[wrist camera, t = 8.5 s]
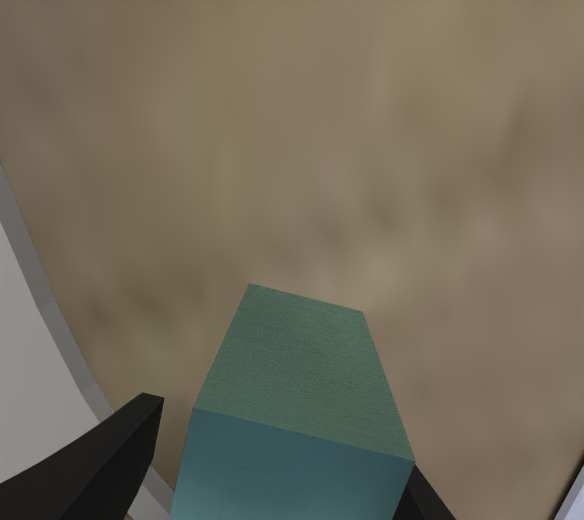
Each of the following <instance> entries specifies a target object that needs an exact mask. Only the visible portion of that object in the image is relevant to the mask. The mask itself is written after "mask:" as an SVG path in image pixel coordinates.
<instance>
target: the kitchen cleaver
mask: <svg viewBox="0 0 584 520" xmlns="http://www.w3.org/2000/svg"><path fill="white" fill-rule="evenodd" d="M114 413H115V412H114V411H113V409H112V408H111V406H110V404H109V403H108V401H107V400H106V398H105V396H104V395H103V393H102V392H101V390H100V389H99V387H98V385H97V384H96V382H95V381H94V378H93V376H92V374H91V372H90V370H89V368H88V366H87V364H86V362H85V360H84V358H83V356H82V354H81V352H80V350H79V348H78V346H77V344H76V342H75V340H74V338H73V336H72V334H71V331H70V329H69V327H68V325H67V323H66V321H65V319H64V317H63V315H62V313H61V311H60V309H59V307H58V305H57V303H56V301H55V299H54V296H53V294H52V291H51V289H50V286H49V284H48V281H47V279H46V276H45V274H44V271H43V269H42V266H41V264H40V261H39V259H38V256H37V254H36V251H35V249H34V246H33V244H32V242H31V239H30V237H29V234H28V232H27V229H26V227H25V224H24V222H23V219H22V217H21V214H20V212H19V209H18V207H17V204H16V202H15V199H14V197H13V194H12V192H11V189H10V187H9V184H8V182H7V179H6V177H5V174H4V172H3V170H2V167H1V165H0V483H2V482H4V481H6V480H7V479H9V478H11V477H13V476H15V475H17V474H19V473H21V472H22V471H24V470H26V469H28V468H30V467H31V466H33V465H35V464H37V463H38V462H40V461H42V460H44V459H45V458H47V457H48V456H50V455H52V454H53V453H55V452H57V451H58V450H60V449H61V448H63V447H65V446H66V445H68V444H70V443H71V442H73V441H74V440H76V439H77V438H79V437H80V436H82V435H83V434H85V433H86V432H88V431H89V430H91V429H92V428H94V427H95V426H97V425H98V424H99V423H101V422H102V421H104V420H105V419H107V418H108V417H109V416H111V415H112V414H114ZM173 497H174V491H173V490H172V489H171V488H170V487H169V486H168V485H167V484H166V482H165V481H164V480H163V479H162V478H161V477H160V476H159V475H158V473H157V472H156V471H155V470H154V469H153V468H152V467H151V465H150V466H149V469H148V471H147V473H146V475H145V478H144V480H143V482H142V485H141V487H140V489H139V491H138V493H137V496H136V498H135V499H134V501H133V503H132V505H131V507H130V508H129V510H128V512H127V513H128V514H129V515H130V516H131V517H132V518H133V520H169V516H170V511H171V506H172V502H173Z"/></svg>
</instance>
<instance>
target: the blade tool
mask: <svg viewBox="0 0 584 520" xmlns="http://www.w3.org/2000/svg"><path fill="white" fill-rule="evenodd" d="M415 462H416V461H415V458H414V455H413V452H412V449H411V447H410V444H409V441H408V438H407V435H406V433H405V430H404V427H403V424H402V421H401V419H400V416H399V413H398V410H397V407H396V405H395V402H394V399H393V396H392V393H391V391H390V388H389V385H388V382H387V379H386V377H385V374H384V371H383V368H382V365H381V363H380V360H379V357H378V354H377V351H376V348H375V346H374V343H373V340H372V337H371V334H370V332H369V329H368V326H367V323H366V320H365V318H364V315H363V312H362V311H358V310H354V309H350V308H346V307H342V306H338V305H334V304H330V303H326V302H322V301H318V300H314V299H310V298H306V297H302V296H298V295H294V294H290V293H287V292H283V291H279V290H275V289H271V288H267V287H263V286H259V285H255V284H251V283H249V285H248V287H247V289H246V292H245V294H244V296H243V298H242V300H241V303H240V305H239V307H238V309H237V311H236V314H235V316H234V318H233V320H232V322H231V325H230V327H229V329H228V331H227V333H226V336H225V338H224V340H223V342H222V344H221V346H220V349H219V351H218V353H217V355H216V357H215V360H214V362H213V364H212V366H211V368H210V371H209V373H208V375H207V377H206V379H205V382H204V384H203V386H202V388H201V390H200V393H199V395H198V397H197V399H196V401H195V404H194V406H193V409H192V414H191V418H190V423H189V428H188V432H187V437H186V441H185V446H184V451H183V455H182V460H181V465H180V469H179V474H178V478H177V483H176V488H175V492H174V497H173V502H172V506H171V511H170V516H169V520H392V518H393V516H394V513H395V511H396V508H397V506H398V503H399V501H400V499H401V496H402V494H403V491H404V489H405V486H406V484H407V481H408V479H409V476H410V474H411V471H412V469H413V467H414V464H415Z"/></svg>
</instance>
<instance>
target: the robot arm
mask: <svg viewBox="0 0 584 520" xmlns="http://www.w3.org/2000/svg"><path fill="white" fill-rule="evenodd" d="M163 403H164V398H163V397H159V396H155V395H151V394H147V393H141V394H139V395H138V396H136V397H135V398H134V399H132V400H131V401H130V402H128V403H127V404H126V405H124V406H123V407H122V408H120V409H119V410H118V411H116V412H115V413H114V414H112V415H111V416H109V417H108V418H107V419H105V420H104V421H102V422H101V423H99V424H98V425H97V426H95V427H94V428H92V429H91V430H89V431H88V432H86V433H85V434H83V435H82V436H80V437H79V438H77V439H76V440H74V441H73V442H71V443H70V444H68V445H66V446H65V447H63V448H61V449H60V450H58V451H57V452H55V453H53V454H52V455H50V456H48V457H47V458H45V459H44V460H42V461H40V462H38V463H37V464H35V465H33V466H31V467H30V468H28V469H26V470H24V471H22V472H21V473H19V474H17V475H15V476H13V477H11V478H9V479H7V480H6V481H4V482H2V483H0V520H123V519H124V517H125V515H126V514H127V512H128V510H129V508H130V507H131V505H132V503H133V501H134V499H135V498H136V496H137V493H138V491H139V489H140V487H141V485H142V482H143V480H144V478H145V475H146V473H147V471H148V469H149V466H150V464H151V462H152V459H153V455H154V450H155V445H156V440H157V434H158V429H159V424H160V419H161V414H162V408H163ZM392 520H456V519H455V517H454V516H453V515H452V514H451V512H450V511H449V510H448V508H447V507H446V506H445V504H444V503H443V502H442V500H441V499H440V498H439V496H438V495H437V493H436V492H435V491H434V489H433V488H432V487H431V485H430V484H429V483H428V481H427V480H426V478H425V477H424V476H423V474H422V473H421V472H420V470H419V469H418V468H417V466H416V465H415V464H414V467H413V469H412V471H411V474H410V476H409V479H408V481H407V484H406V486H405V489H404V491H403V494H402V496H401V499H400V501H399V503H398V506H397V508H396V511H395V513H394V516H393V518H392ZM554 520H584V466H583V467H582V469H581V471H580V473H579V475H578V477H577V478H576V480H575V482H574V484H573V486H572V488H571V489H570V491H569V493H568V495H567V497H566V499H565V500H564V502H563V504H562V506H561V508H560V510H559V511H558V513H557V515H556V517H555V519H554Z"/></svg>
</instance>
